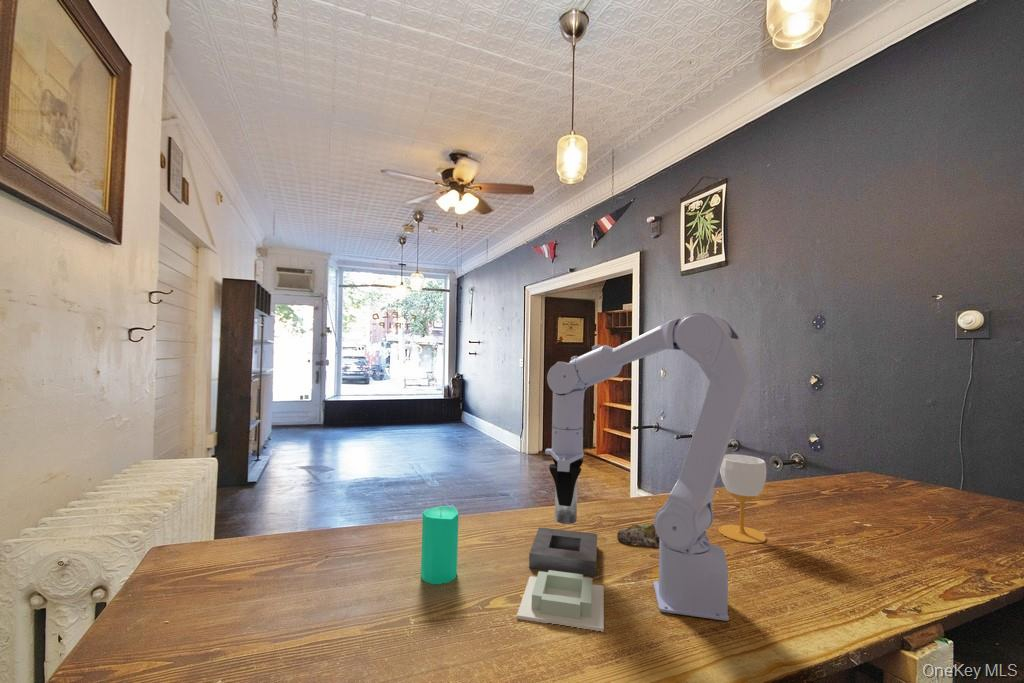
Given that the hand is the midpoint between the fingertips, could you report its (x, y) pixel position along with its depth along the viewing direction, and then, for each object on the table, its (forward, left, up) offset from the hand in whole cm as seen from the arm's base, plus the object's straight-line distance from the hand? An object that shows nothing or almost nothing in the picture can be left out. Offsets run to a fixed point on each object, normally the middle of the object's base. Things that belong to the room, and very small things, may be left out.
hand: (566, 501), depth 79 cm
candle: (+20, +11, -11) cm, 25 cm away
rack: (-1, +14, -10) cm, 18 cm away
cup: (-36, -21, -11) cm, 43 cm away
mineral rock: (-15, -12, -11) cm, 22 cm away
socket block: (0, -1, -10) cm, 10 cm away
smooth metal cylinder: (0, 0, -3) cm, 3 cm away
